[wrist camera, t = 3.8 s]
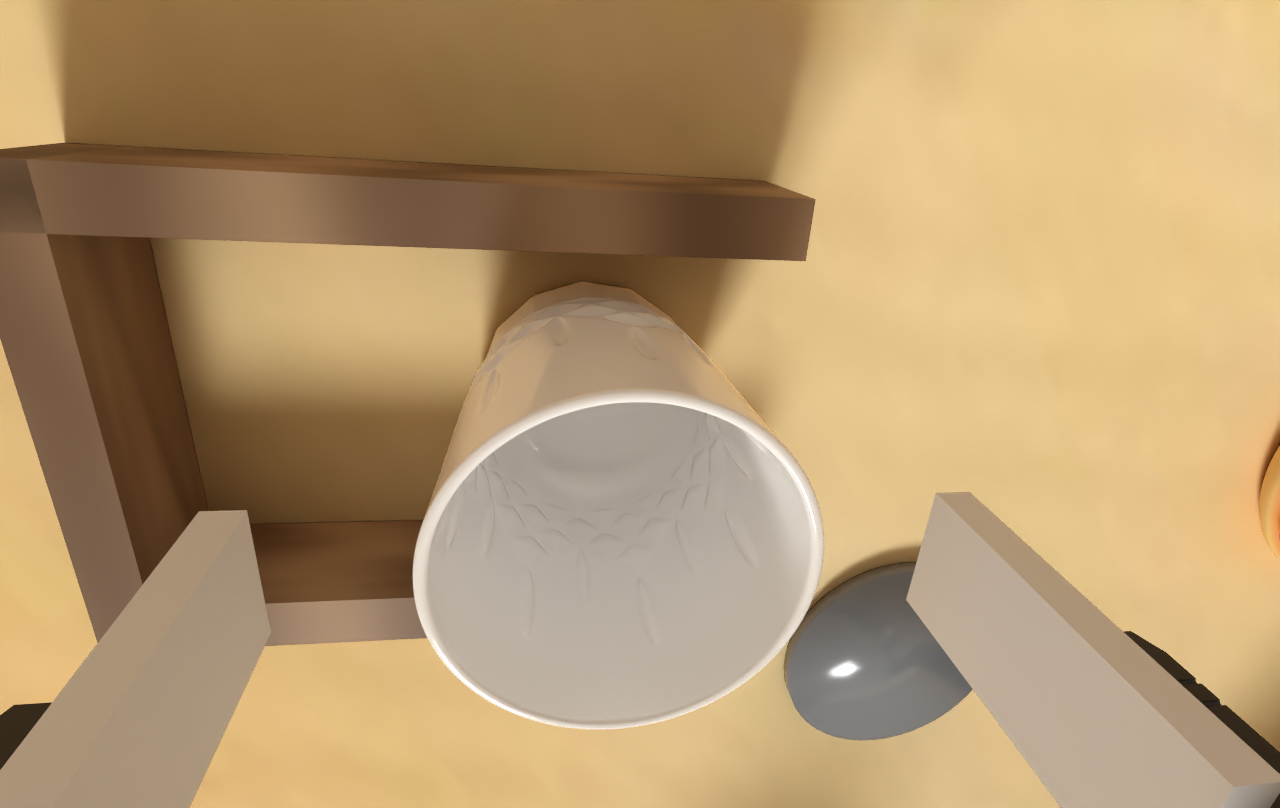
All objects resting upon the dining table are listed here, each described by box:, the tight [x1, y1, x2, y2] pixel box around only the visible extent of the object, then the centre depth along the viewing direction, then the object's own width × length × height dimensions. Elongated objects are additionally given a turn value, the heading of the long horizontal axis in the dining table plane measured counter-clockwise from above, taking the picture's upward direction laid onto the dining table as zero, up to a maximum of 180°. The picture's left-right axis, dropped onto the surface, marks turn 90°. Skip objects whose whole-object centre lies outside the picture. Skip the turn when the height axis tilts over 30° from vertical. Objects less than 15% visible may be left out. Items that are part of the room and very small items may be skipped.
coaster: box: [784, 562, 972, 740], centre depth 29 cm, size 9×9×1 cm
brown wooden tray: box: [0, 143, 815, 646], centre depth 20 cm, size 18×13×4 cm
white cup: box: [413, 282, 824, 730], centre depth 18 cm, size 8×8×10 cm
